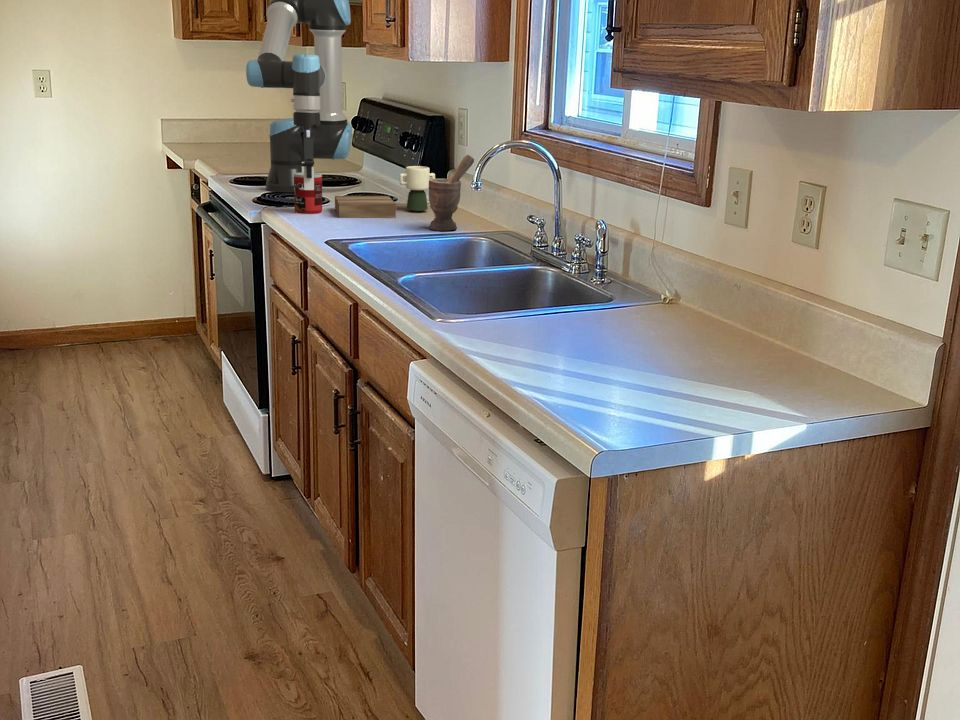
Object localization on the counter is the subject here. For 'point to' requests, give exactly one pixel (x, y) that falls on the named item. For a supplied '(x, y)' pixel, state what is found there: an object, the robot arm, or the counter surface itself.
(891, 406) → the counter surface
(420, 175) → the character mug
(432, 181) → the mortar and pestle
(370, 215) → the walnut base
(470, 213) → the counter surface
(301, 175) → the canned food
